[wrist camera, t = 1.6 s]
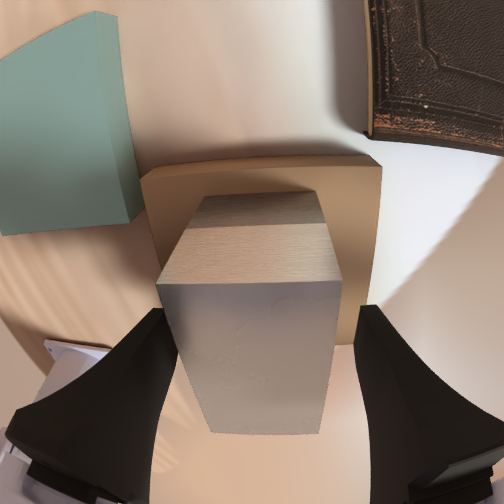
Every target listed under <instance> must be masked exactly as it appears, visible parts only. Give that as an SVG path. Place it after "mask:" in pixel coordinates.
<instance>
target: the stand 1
mask: <svg viewBox="0 0 504 504" xmlns="http://www.w3.org/2000/svg"><path fill="white" fill-rule="evenodd" d="M144 207H145V202H144V198H143V193H142V189H141V184H140V178H139V174H138V169H137V164H136V158H135V153H134V148H133V142H132V136H131V131H130V125H129V118H128V112H127V105H126V98H125V91H124V83H123V75H122V67H121V58H120V48H119V37H118V24H117V16H113V15H110V14H106V13H103V12H99V11H94V12H91V13H89V14H86V15H84V16H82V17H79V18H77V19H75V20H73V21H70V22H68V23H66V24H64V25H62V26H60V27H58V28H56V29H54V30H52V31H50V32H48V33H46V34H44V35H42V36H40V37H39V38H37V39H35V40H33V41H31V42H30V43H28V44H26V45H25V46H23V47H21V48H20V49H18V50H16V51H15V52H13V53H11V54H10V55H8V56H7V57H5V58H4V59H2V60H1V61H0V231H1V234H2V236H7V235H16V234H24V233H33V232H42V231H51V230H61V229H71V228H81V227H92V226H103V225H115V224H127V223H131V222H132V220H133V219H134V218H135V217H136V216H137V215H138V214H139V213H140V212H141V210H142V209H143V208H144Z"/></svg>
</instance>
